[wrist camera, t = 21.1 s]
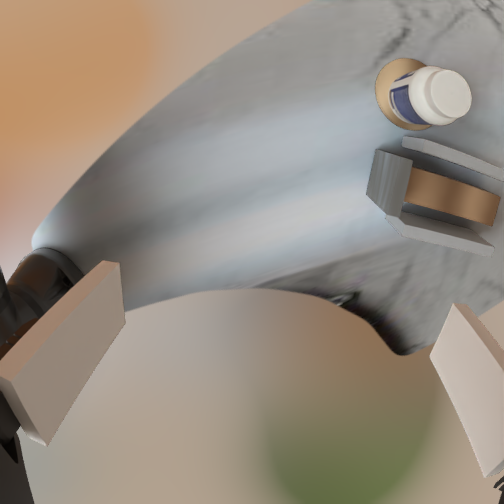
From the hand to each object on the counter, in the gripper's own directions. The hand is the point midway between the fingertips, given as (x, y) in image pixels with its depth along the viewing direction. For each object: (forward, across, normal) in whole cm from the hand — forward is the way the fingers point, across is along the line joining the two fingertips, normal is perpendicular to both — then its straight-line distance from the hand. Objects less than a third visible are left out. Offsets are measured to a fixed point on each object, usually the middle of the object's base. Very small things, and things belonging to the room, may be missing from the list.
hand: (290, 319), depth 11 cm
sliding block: (+23, +17, +3) cm, 29 cm away
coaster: (+23, +12, +13) cm, 29 cm away
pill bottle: (+23, +12, +12) cm, 29 cm away
